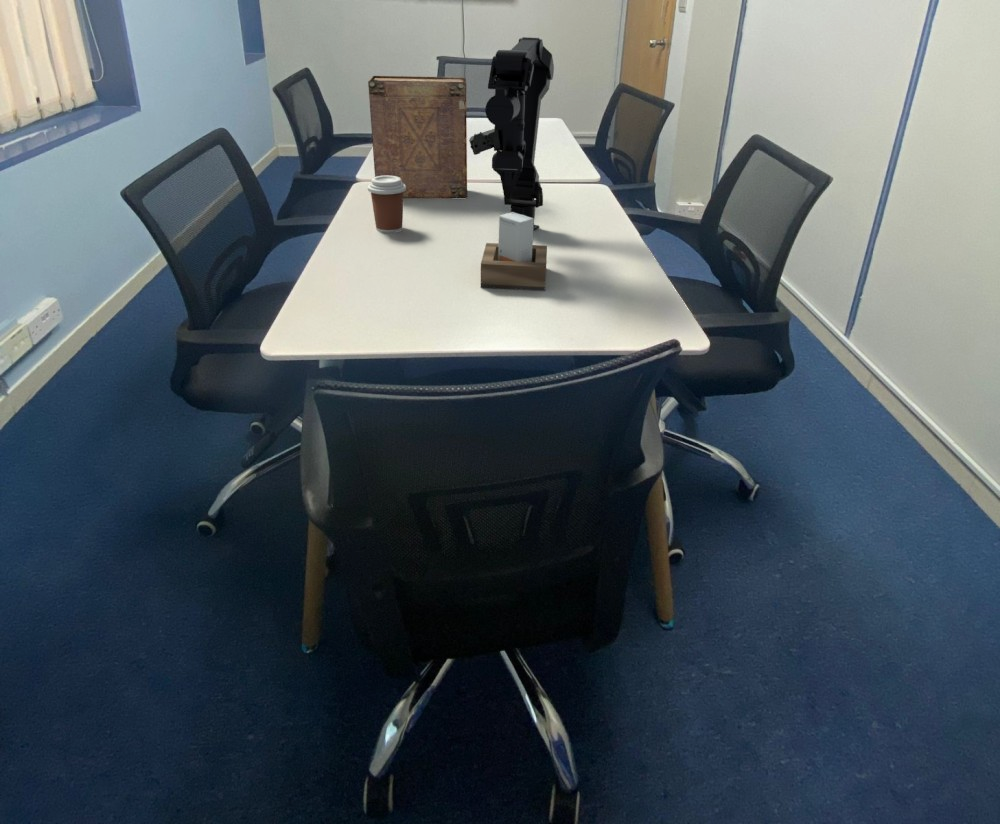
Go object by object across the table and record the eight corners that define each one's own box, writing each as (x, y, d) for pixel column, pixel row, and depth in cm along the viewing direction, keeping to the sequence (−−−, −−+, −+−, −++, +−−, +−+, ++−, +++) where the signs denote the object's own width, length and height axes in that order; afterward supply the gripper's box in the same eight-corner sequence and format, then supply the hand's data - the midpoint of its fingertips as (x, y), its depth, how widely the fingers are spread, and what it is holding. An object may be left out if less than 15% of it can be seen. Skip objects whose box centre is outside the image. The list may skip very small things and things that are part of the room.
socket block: (486, 265, 156) (486, 242, 154) (545, 268, 156) (547, 245, 153) (480, 287, 145) (480, 263, 143) (544, 290, 145) (546, 266, 142)
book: (466, 190, 209) (466, 77, 194) (467, 198, 202) (467, 81, 186) (378, 189, 208) (371, 75, 192) (375, 198, 200) (368, 80, 184)
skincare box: (496, 272, 151) (498, 215, 145) (511, 267, 153) (512, 211, 147) (518, 280, 147) (520, 222, 141) (532, 274, 150) (534, 217, 144)
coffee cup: (365, 225, 178) (361, 176, 172) (400, 221, 182) (397, 172, 176) (377, 236, 172) (374, 185, 165) (413, 231, 175) (411, 181, 169)
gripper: (476, 109, 158) (475, 181, 166) (467, 124, 142) (467, 203, 150) (526, 111, 158) (524, 183, 166) (523, 126, 142) (520, 205, 150)
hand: (508, 193), depth 158 cm, fingers open, 9 cm apart
